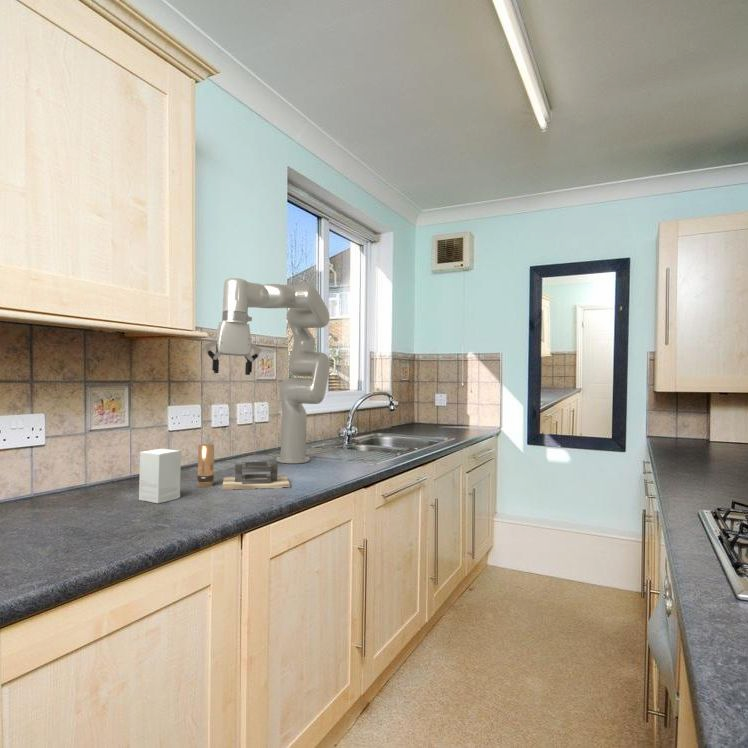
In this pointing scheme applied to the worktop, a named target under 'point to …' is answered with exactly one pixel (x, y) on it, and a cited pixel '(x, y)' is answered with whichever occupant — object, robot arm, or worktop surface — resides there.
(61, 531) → the worktop surface
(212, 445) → the tube
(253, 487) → the collar stand
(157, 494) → the supplement box
